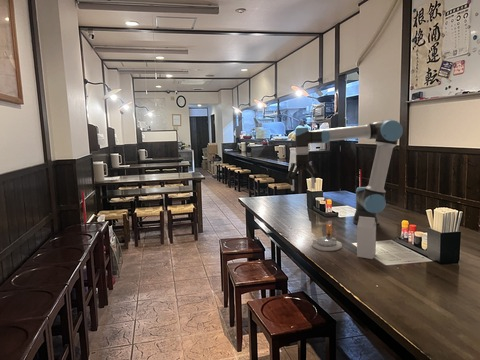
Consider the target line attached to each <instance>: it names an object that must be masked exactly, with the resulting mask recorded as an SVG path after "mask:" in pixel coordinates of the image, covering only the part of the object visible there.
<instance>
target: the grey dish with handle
mask: <svg viewBox="0 0 480 360" xmlns="http://www.w3.org/2000/svg"><path fill="white" fill-rule="evenodd" d="M332 236H333V225H332V223H327V224H326V235H325V236H319V237H317V238H316V239H317V244H318V245H321V246H326V247H330V246H335V245H337V241H338V239H337V238H335V237H332Z"/></svg>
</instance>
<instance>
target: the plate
mask: <svg viewBox="0 0 480 360" xmlns="http://www.w3.org/2000/svg"><path fill="white" fill-rule="evenodd" d="M317 239H318V238H313V239H312V244H311V247H312V248H313V249H315V250H318V251H323V252H334V251H339V250H341V249H342V247H343V243H342V242H340V241H338V240H337V245H335V246H330V247H326V246H321V245H318V244H317Z"/></svg>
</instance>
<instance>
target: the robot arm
mask: <svg viewBox="0 0 480 360" xmlns="http://www.w3.org/2000/svg"><path fill="white" fill-rule="evenodd" d="M403 129H404V128H403V126H402V124H401V123H400V122H399V121H397V120H393V119H386V120H385V119H383V120H380V121H374V122H370V123H369V122H368V123H366V124H365V125H356V126H354V125H353V126H345V127H342V126H341V127H333V128H325V129H322V128H321V129H313V130H310V129H309V127H307V126H306V127H296V128H295V133H294V134H295V135H294V136H295V137H294V139H295V162H291V163H290V168H289V170H288V173H287V175H286V179H288V180H289V185H290V191H292V192H295V179H294V178H295V177H296V175H297V174H298V173H299V171H303V170H306V171H307V172H308V173H309V175H310V176H311V178H310V181H311V183H310V184H311V189H313V190H314V189H316V184H315V183H317V182H316V179H317V178H318V177H319V175H320V174H319V173H318V170H317V168H316V166H315V163H314V161H313V160H312V161H310V155H309V153H310V152H309V151H310V146H309V144H326V143H329V142H331V141H343V140H344V141H345V140H353V139H367V140H372V139H373V140H375V144H376V149H375V155H374V159H373V163H372V167H371V172H370V177H369V181H368V185H367V186H359V187H357V188H356V191H355V212H354V216H353V218H352V223H353V224H354V225H358V221H359V216H361V217H371V218H375V222H376V226H377V225H378V224H379V218H378V215H377V214H378V213H380V212H382V211H383V210H384V209H385V208H386V204H387V202H386V197H385V196H386V192H387V191H386V190H385V184H386V180H387V175H388V173H389V172H388V171H389V167H390V163H391V162H390V161H391V158H392V154H393V150H394V148H395V147H397V145H398V141H399V139H401V137H402V135H403Z"/></svg>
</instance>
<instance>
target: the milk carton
mask: <svg viewBox="0 0 480 360" xmlns="http://www.w3.org/2000/svg"><path fill="white" fill-rule="evenodd" d="M356 225H357V226H356V229H357V230H356V257H357V258H364V259H370V260H373V259H374V257H375V256H376V253H377V251H376V249H377V225H376V222H375V218H371V217H361V216H359V221H358V224H356Z"/></svg>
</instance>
